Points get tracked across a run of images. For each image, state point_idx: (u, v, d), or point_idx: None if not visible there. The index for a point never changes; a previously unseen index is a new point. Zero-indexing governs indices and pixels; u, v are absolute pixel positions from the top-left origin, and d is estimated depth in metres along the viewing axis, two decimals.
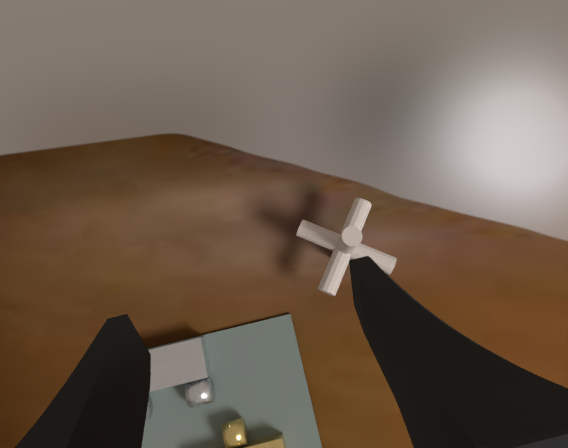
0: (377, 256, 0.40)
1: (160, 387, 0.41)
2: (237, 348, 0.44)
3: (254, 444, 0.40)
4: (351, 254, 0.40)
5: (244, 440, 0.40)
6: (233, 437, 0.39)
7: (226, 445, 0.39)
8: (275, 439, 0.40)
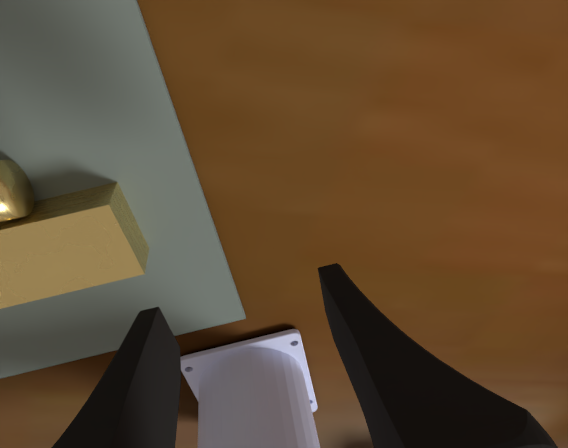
0: None
1: None
2: None
3: (45, 216, 0.17)
4: None
5: (13, 213, 0.16)
6: None
7: None
8: (94, 205, 0.17)
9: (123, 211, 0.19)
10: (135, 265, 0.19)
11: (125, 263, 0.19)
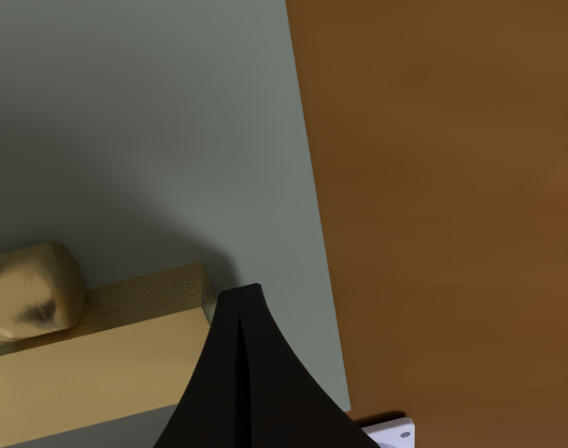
0: None
1: None
2: None
3: (104, 322, 0.12)
4: None
5: (59, 327, 0.11)
6: (10, 327, 0.10)
7: None
8: (177, 306, 0.12)
9: (211, 304, 0.13)
10: None
11: None
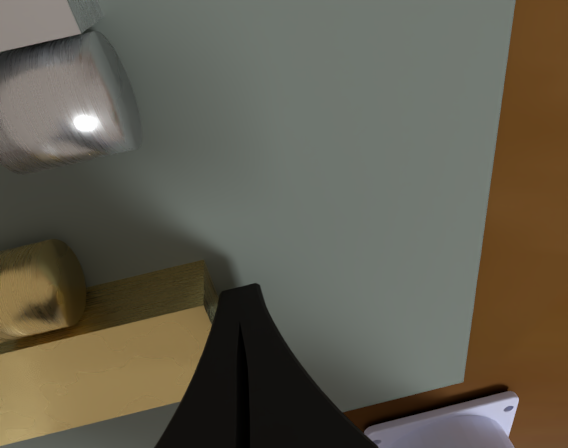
0: None
1: None
2: None
3: (106, 320, 0.12)
4: None
5: (61, 325, 0.11)
6: (11, 325, 0.10)
7: None
8: (179, 304, 0.12)
9: (213, 303, 0.13)
10: None
11: None
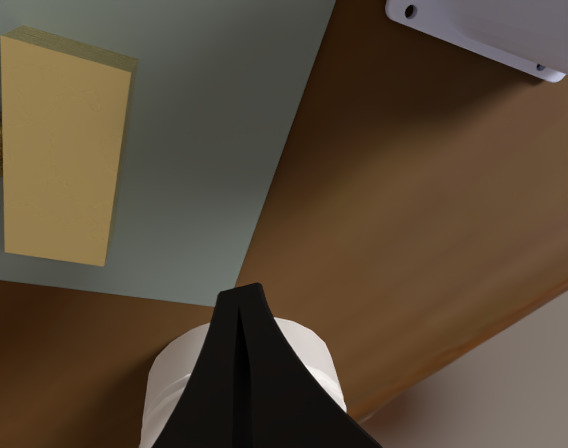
0: None
1: None
2: None
3: None
4: None
5: None
6: None
7: None
8: None
9: (47, 39, 0.14)
10: (112, 73, 0.14)
11: (103, 80, 0.14)
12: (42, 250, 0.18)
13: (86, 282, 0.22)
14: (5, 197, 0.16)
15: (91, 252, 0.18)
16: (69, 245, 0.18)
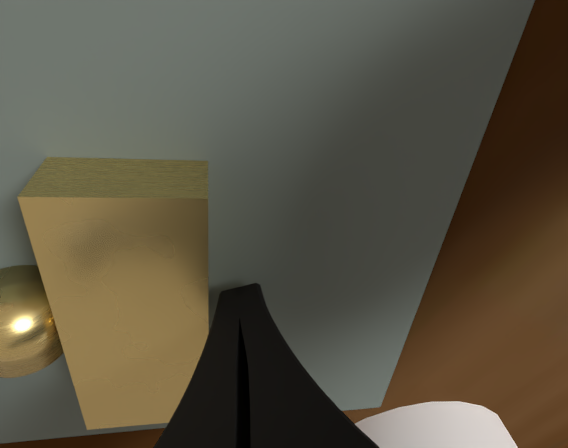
0: None
1: None
2: None
3: None
4: None
5: (21, 322, 0.10)
6: (3, 353, 0.11)
7: (39, 366, 0.11)
8: None
9: (83, 174, 0.10)
10: (182, 206, 0.09)
11: (170, 218, 0.10)
12: (131, 419, 0.14)
13: None
14: (73, 377, 0.12)
15: None
16: (162, 407, 0.14)
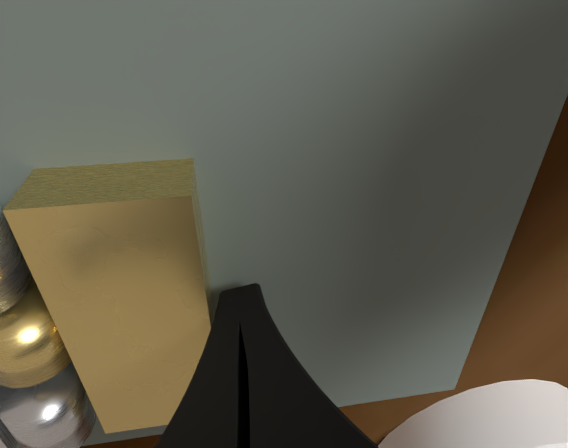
0: None
1: None
2: None
3: None
4: None
5: (25, 332, 0.11)
6: (12, 365, 0.11)
7: (48, 375, 0.12)
8: None
9: (68, 182, 0.10)
10: (166, 205, 0.09)
11: (156, 218, 0.10)
12: (147, 420, 0.14)
13: None
14: (84, 383, 0.12)
15: None
16: (176, 407, 0.14)
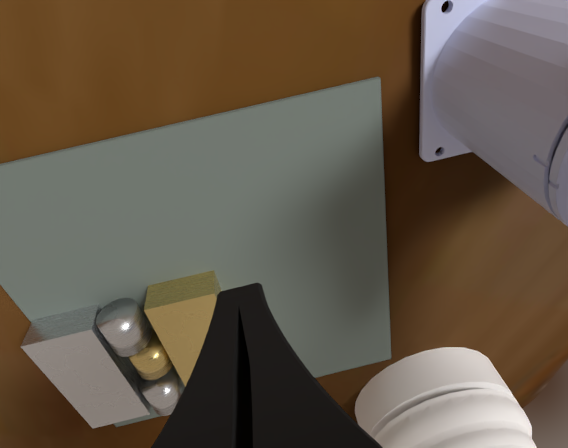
0: None
1: (123, 379, 0.26)
2: (38, 273, 0.23)
3: None
4: None
5: (154, 355, 0.25)
6: (150, 369, 0.25)
7: (164, 372, 0.26)
8: None
9: (164, 292, 0.24)
10: (205, 298, 0.23)
11: (202, 303, 0.23)
12: None
13: None
14: (180, 374, 0.26)
15: None
16: None
